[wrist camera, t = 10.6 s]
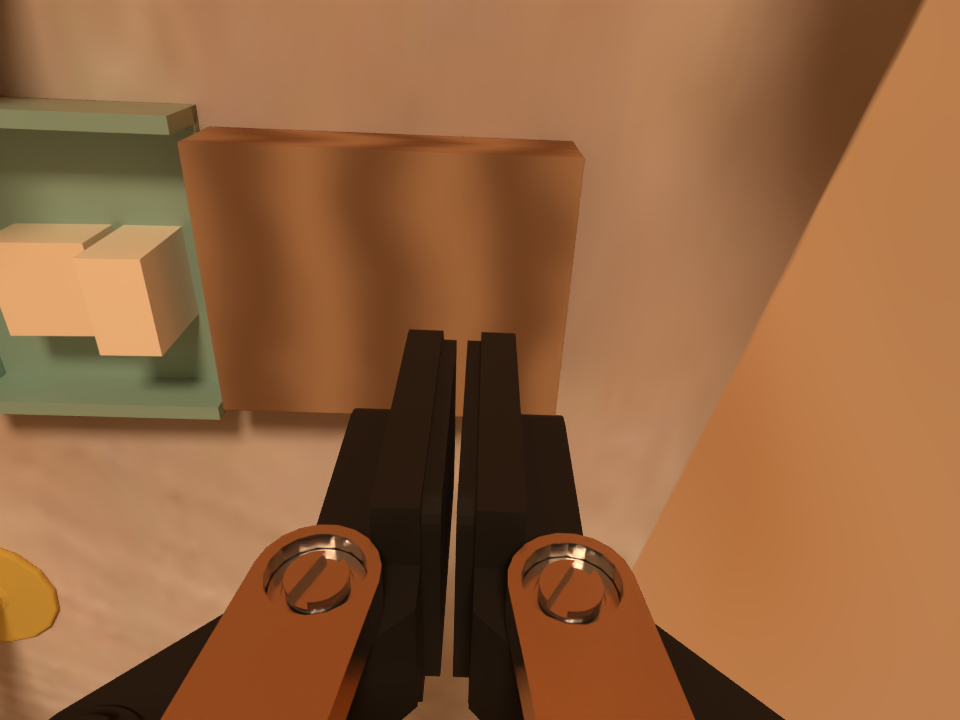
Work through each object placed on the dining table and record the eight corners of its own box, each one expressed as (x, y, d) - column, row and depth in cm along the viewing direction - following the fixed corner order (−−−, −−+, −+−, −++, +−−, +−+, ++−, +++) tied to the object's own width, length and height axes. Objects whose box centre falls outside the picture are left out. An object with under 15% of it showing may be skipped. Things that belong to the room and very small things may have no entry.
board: (572, 141, 33) (585, 158, 29) (547, 381, 40) (554, 419, 36) (209, 126, 32) (177, 142, 29) (245, 372, 39) (223, 409, 36)
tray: (195, 104, 32) (166, 115, 29) (239, 387, 40) (220, 419, 37) (-101, 92, 31) (-163, 102, 28) (1, 380, 39) (-38, 412, 36)
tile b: (-24, 242, 31) (14, 223, 34) (10, 335, 34) (43, 311, 37) (82, 243, 32) (111, 224, 34) (108, 336, 34) (134, 312, 37)
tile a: (139, 259, 30) (72, 258, 30) (162, 356, 32) (100, 355, 32) (181, 226, 34) (123, 224, 34) (198, 313, 37) (144, 312, 37)
